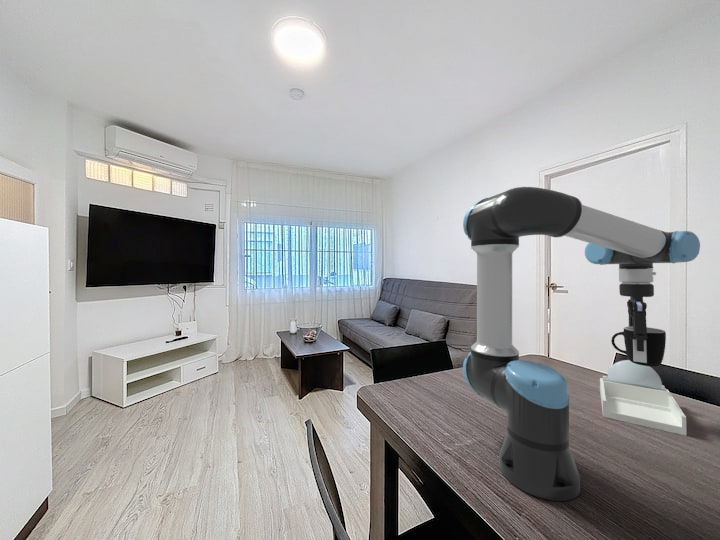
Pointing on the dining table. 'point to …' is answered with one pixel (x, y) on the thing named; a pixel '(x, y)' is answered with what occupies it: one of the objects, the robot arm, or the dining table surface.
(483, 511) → the dining table surface
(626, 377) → the plate in rack
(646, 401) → the dish rack
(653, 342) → the mug
